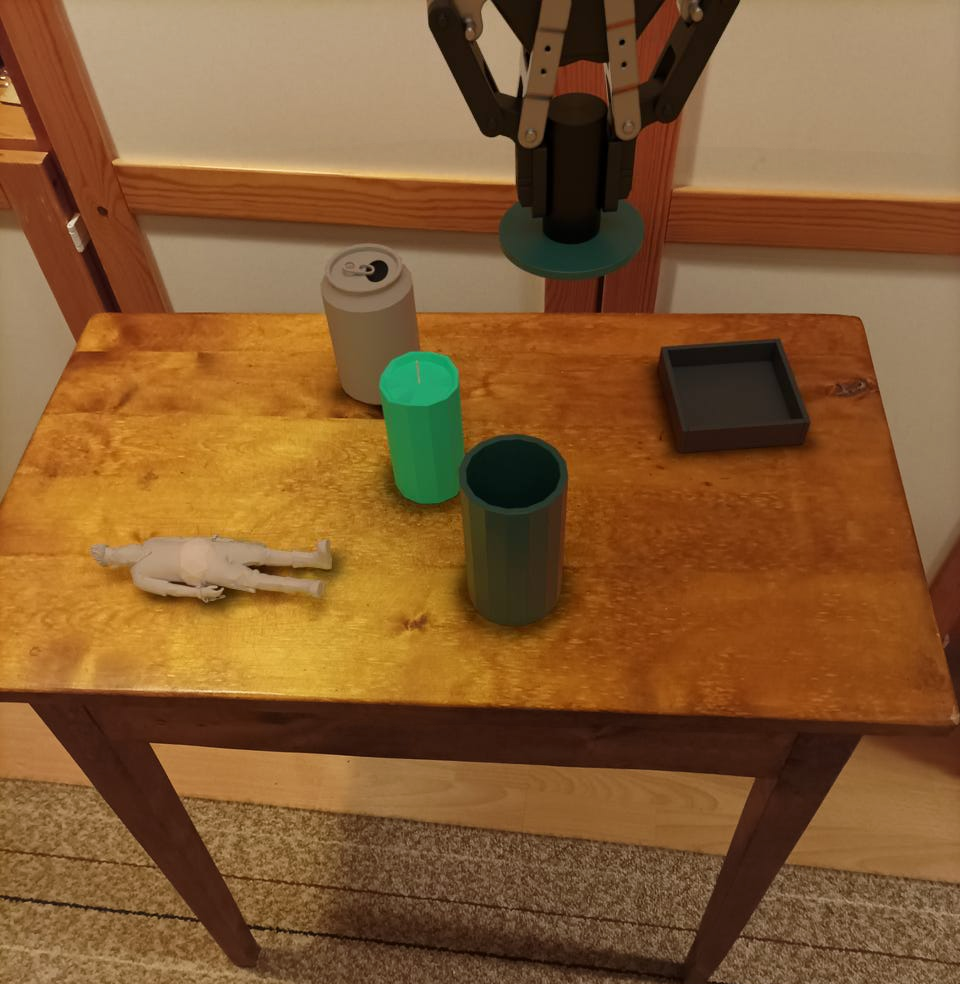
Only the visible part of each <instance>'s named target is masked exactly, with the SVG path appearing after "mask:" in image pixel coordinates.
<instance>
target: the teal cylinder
mask: <svg viewBox="0 0 960 984" xmlns="http://www.w3.org/2000/svg"><path fill="white" fill-rule="evenodd" d="M459 485H460V491H459V496H460V508H461V509H460V510H461V519H462V532H463V545H464V559H465V568H466V579H467V580H466V581H467V593H468V597H469V600H470V602H471V605H472V606H473V607H474V609H475V610H476V612H478V614H480V615H481V616H482V617H484V618H485V619H487V620H488V621H490V622H493V623H496V624H498V625H503V626H509V627H519V626H527V625H530V624H533V623H536V622H538V621H540V620H542V619H543V618H545V617H547V615H549V614H550V613H551V612H552V610H554V609H555V607H556V605H557V604H558V601H559V599H560V596H561V591H562V587H563V585H562V584H563V572H564V571H563V570H564V553H565V537H566V521H567V520H566V519H567V506H568V505H567V503H568V490H569V489H568V488H569V473H568V466H567V461H566V459H565V458H564V457H563V455H562V454H561V453H560V452H559V450H558V449H557V448H556V447H555V446H553V445H552V444H550V443H548V442H547V441H545V440H544V439H542V438H540V437H536V436H532V435H528V434H522V433H509V434H499V435H495V436H492V437H490V438H487V439H485V440H482V441H480V442H478V443H477V444H476V445H474V447H473V448H471V449H470V450H469V451H468V452H466V453H465V457H464V459H463V461H462V463H461V465H460V467H459Z"/></svg>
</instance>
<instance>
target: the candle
mask: <svg viewBox="0 0 960 984" xmlns="http://www.w3.org/2000/svg"><path fill="white" fill-rule="evenodd" d="M379 390H380V396H381V402H382V405H381V406H382V407H381V408H382V413H383V419H384V425H385V431H386V436H387V442H388V443H387V444H388V447H389V448H388V449H389V455H390V460H391V466H392V471H393V478H394V483H395V486H396V488H397V489H398V491H399V492H400V493H401V495H402V496H403V498H405V499H408V500H410V501H412V502H415V503H418V504H420V505H422V504H423V505H426V504H427V505H429V504H441V503H443V502H446V501H447V500H450V499H452V498H454V497H456V496H457V495H458V494H459V493H460V485H459V467H460V465H461V463H462V461H463V459H464V457H465V455H466V453H465V439H464V427H463V425H464V424H463V412H462V411H463V410H462V401H461V385H460V374H459V369H458V368H457V367H456V365H455V364H454V362H453V361H452V359H451V358H450V357H449V355H445V354H441V353H438V352H434V351H421V352H408V353H406V354H404V355H402V356H399V357H397V358H395V359H393V360H391V362H390V363H389V365H388V366H387V368H386V369H385V371H384V372H383V374H382V375H381V378H380V384H379Z"/></svg>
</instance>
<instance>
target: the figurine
mask: <svg viewBox="0 0 960 984" xmlns="http://www.w3.org/2000/svg"><path fill="white" fill-rule="evenodd" d="M90 546H91V547H89V548H88V551H89V553H90V555H91V556H92V558H93V560H94V561H95V563H97V564H98V565H97V566H98V567H103V568H107V567H108V568H109V567H112V568H113V569H117V568H120V567H123V568H130V569H129V571H130V575H131V577H132V582H133V583H134V586H136V588H137V589H139V590H140V591H144V592H148V593H151V594H156V595H159V596H163V597H167V596H173V597H191V598H198V599H200V600H202V601H203V602H205V603H209V602H211V601H212V602H213V601H216V600H220V599H224V598H226V597H227V596H226V595H225V594H222V593H223V591H224V590H225V588H228V589H233V590H239V591H244V592H249V593H252V594H254V595H255V594H256V592H257V590H261V591H267V592H268V591H269V592H283V593H284V594H292V593H302V594H309V595H310V596H311V597H313V598H316V599H322V595H324V594H325V593H326V586H327V585H326V584H327V583H326V581H325V580H322V579H308V578H297V577H292V576H289V575H287V576H286V577H283V576H280V575H273V574H272V575H269V574H267V573H261V572H260V570H259V569H251V568H250V566H257V567H260V566H262V565H264V566H266V567H268V566H269V567H271V566H272V567H292V569H296V568H315V569H322V570H332V568H333V557H332V554H331V553H330V552H331V542H330V539H327V538H325V539H323V540H322V539H320V540H318V541H317V543H316V549H315V550H314V551H304V550H299V549H295V548H294V549H293V550H292V551H286V550H280V549H274V548H270V547H267V545H266V543H263V542H259V541H253V540H245V539H243V540H238V541H237V540H235V539H232V538H229V537H223V536H219V534H213V535H212V536H190V537H189V536H188V537H182V536H152V537H149V538H147V539H145V540H144V542H143V543H142V544H136V543H134V542H133V543H129V544H128V545H119V546H115V547H113V546H109V545H108V544H106V543H105V542H102V543H101V542H99V543H94V544H91V545H90ZM266 547H267V548H266ZM173 582H175V583H173ZM176 582H177V583H178V584H177V583H176ZM179 583H185V584H186V585H182V584H179ZM218 587H221V588H219V589H218ZM224 587H225V588H224ZM215 589H218V590H215Z"/></svg>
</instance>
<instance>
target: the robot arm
mask: <svg viewBox="0 0 960 984" xmlns="http://www.w3.org/2000/svg"><path fill="white" fill-rule="evenodd" d="M487 1H488V0H426V13H427V25H428V29H429V30H430V32H431V35H432V37H433V39H434V40H435V42H436V44H437V47H438V49H439V51H440V53H441V55H442V56H443V57H442V58H443V59H444V61H445V63H446V65H447V67H448V70H449V71H450V73H451V76H452V77H453V79H454V80H455V83H456V85H457V87H458V89H459V91H460V93H461V95H462V97H463V99H464V102H465V103H466V104H467V107H468V109H469V111H470V113H471V115H472V117H473V120H474V121H475V123H476V126H477V127H478V128H479V129H478V130H479V131H480V133H481V134H482V135H483V136H485V137H487V138H490V139H491V138H497V137H498V136H502V137H505V138H508V139H510V140H511V141H512V142H513V144H514V160H515V161H514V164H515V165H514V167H515V168H514V171H515V173H514V175H515V179H514V181H515V188H516V194H517V199H518V201H519V202H520V204H521V206H522V207H530V209H531V215H532V218H542V217H546V199H547V144H546V140H545V139H544V132H545V126H546V121H547V115H548V110H549V104H550V100H551V99H552V98H554V95H555V94H554V93H555V90H556V83H557V78H558V72H559V68H563V67H566V66H569V65H572V64H575V63H577V62H579V61H586V62H591V63H596V64H603V70H604V78H605V79H604V80H605V88H606V90H605V91H606V99H607V106H608V117H607V132H606V147H605V161H604V176H603V191H602V206H601V207H602V211H603V213H604V212H616V211H617V209H618V200H620V199H624V200H627V199H628V197H629V196H630V193H631V192H632V189H633V179H634V178H633V177H634V168H635V159H636V147H637V140H638V137H639V135H640V133H641V132H642V130H643V129H644V128H647V127H648V126H650V125H652V124H654V123H657V122H659V123H660V124H664V125H665V124H666V125H667V124H671V123H673V122H674V121H676V120H677V119H678V118H679V116H680V115H681V112H682V111H683V109H684V107H685V105H686V103H687V101H688V99H689V98H690V96H691V94H692V92H693V90H694V89H695V86H696V85H697V83H698V81H699V79H700V78H701V76H702V73H703V72H704V70H705V68H706V66H707V65H708V62H709V60H710V59H711V57H712V55H713V54H714V51H715V49H716V47H717V45H718V43H719V42H720V40H721V38H722V36H723V34H724V32H725V31H726V29H727V27H728V25H729V23H730V21H731V20H732V17H733V16H734V14H735V12H736V10H737V8H738V7H739V5H740V3H741V0H676V7H677V10H678V12H679V16H678V18H677V20H676V22H675V24H674V25H673V28H672V30H671V32H670V35H669V36H668V38H667V40H666V42H665V44H664V46H663V48H662V51H661V52H660V54H659V56H658V59H656V62H655V64H654V66H653V68H652V70H651V73H650V75H649V77H648V79H647V80H646V81H644V82H642V83H640V71H639V59H638V58H639V57H638V45H637V41H638V40H639V39H640V37H641V35H642V34H643V33H644V32H645V30H646V28H647V27H648V26H649V24H650V23H651V22H652V20H653V19H654V17H655V16H656V14H657V13H658V11H659V10H660V9H661V8H662V6H663V5H664V3H665V2H666V0H490V1H491V3H492V4H493V6H494V7H495V9H496V10H497V12H498V14H500V16H501V17H502V19H503V20H504V21H505V23H506V24H507V26H508V27H509V29H510V30H511V31H512V33H513V34H514V36H515V37H516V38H517V40H518V41H519V43H520V44H521V45H520V52H519V65H518V66H519V67H518V76H517V84H516V91H515V95H511V94H508V93H504V92H501V91H500V89H499V87H498V85H497V83H496V80H495V78H494V76H493V74H492V72H491V70H490V67H489V64H488V62H487V61H486V58H485V56H484V55H483V51H482V50H481V48H480V46H479V43H478V41H477V40H478V39H480V38H481V36H482V35H483V31H484V21H483V15H482V14H483V13H482V10H483V8H484V5H485V3H486V2H487Z"/></svg>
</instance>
